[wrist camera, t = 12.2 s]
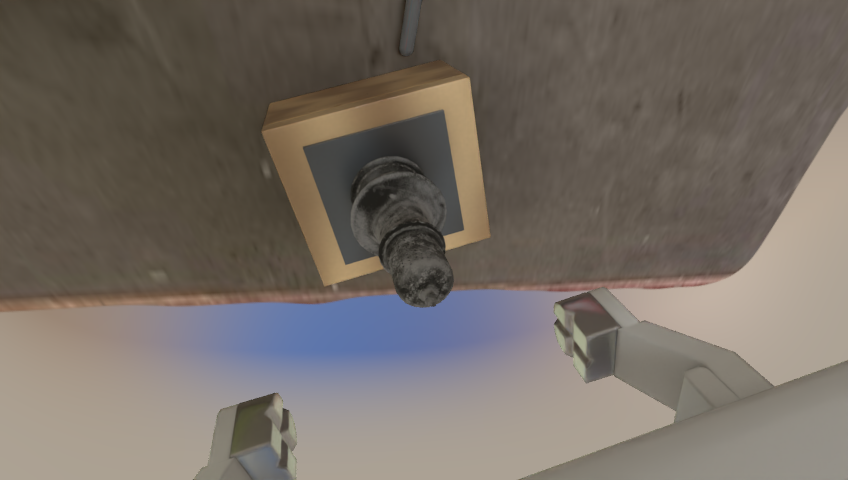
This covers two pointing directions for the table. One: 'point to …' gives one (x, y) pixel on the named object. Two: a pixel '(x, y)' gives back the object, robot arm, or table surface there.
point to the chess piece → (403, 227)
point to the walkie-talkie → (409, 27)
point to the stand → (377, 156)
